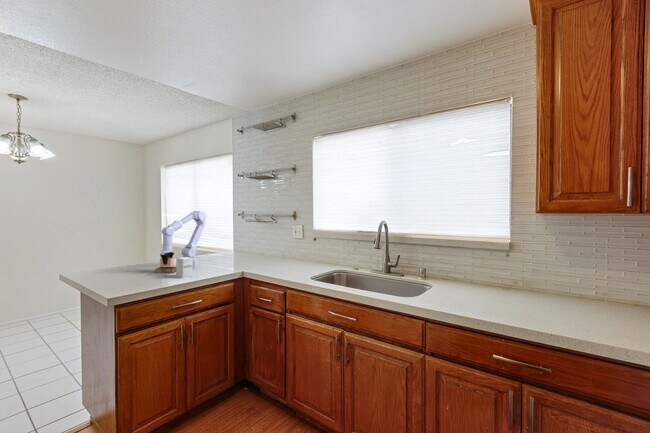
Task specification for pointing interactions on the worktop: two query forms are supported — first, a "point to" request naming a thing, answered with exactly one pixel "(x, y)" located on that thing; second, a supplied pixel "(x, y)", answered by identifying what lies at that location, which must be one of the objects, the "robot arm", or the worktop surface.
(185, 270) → the supplement box
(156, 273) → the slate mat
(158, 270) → the walnut crate
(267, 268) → the worktop surface
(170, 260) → the terracotta crate
